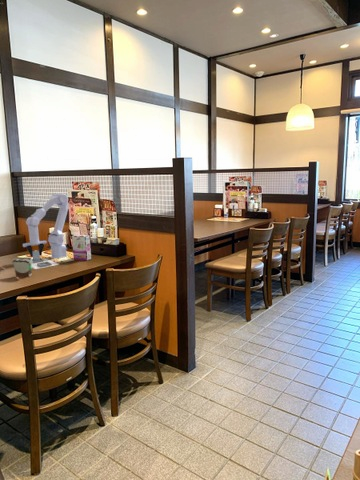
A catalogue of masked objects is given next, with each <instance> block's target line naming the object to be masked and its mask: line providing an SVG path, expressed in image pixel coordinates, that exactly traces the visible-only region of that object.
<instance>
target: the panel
mask: <svg viewBox="0 0 360 480" xmlns="http://www.w3.org/2000/svg"><path fill="white" fill-rule="evenodd" d="M31 259H32V261H33V258H31ZM59 264H60V263H57V262H54V261H53V260H50V259H48V258H46V257H45V258H44V257H43V258H41V257H40V260H38V261H33V263H32V269H34V270H39V269H43V268H44V269H45V268H48V267H53V266H59Z"/></svg>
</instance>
